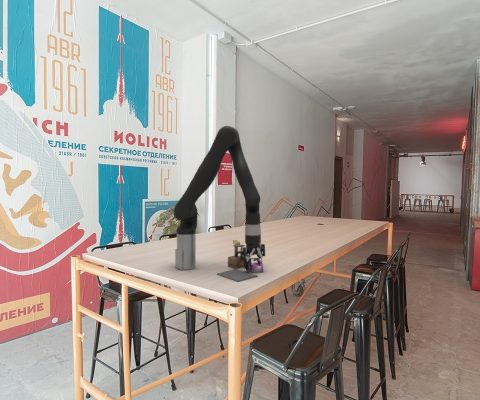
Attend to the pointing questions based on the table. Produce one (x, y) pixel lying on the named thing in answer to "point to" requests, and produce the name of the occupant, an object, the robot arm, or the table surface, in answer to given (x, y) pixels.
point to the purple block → (254, 265)
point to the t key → (236, 247)
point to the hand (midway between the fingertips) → (253, 267)
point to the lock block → (235, 262)
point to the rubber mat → (237, 275)
